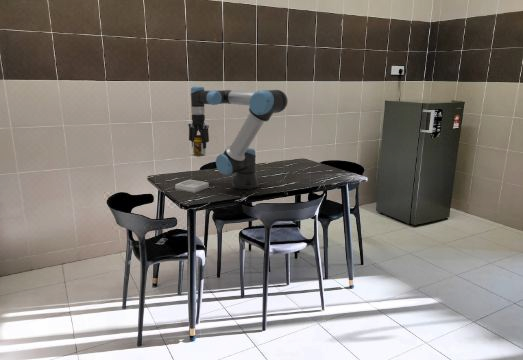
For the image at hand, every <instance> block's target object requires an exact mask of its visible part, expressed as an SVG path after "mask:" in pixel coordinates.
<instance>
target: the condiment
mask: <svg viewBox="0 0 523 360" xmlns="http://www.w3.org/2000/svg"><path fill="white" fill-rule="evenodd" d="M201 143H202V139H201V135H200V134H197V135H195V136H194V153H192V154H190V156H192V157H196V158H199V157H200V158H201V157H205V156H206V157H207V154H202V150H201Z"/></svg>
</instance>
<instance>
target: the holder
mask: <svg viewBox="0 0 523 360" xmlns="http://www.w3.org/2000/svg"><path fill="white" fill-rule="evenodd" d="M209 184H210V183H209V182H207V181H200V180H195V179H194V180H193V179H188V180H187V179H186V180H184V181H181V182H179V183H175V185H174V186H175V188H174V189H175V191H176V190H177V191H182V192H188V193H192V194H196V193H199V192H200V191H204V190H206V189H208V188H210V186H209Z"/></svg>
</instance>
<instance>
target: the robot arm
mask: <svg viewBox="0 0 523 360" xmlns="http://www.w3.org/2000/svg"><path fill="white" fill-rule="evenodd" d="M288 101H289V100H288V97H287V94H286V93H285V92H283V90H279V89H268V90H267V89H261V90H257V91H243V90H242V91H241V90H232V89H226V90H224V89H223V90H205V87H204V86H191V87H190V102H191V108H190V109H191V121H192V122H191V123H188V125H187V126H188V140H189V141H190V142H191V148H192V154H194V136H195V135H198V132H199V135H201V139H202V143H201V150H202V154H204V155H207V154H206V149H207V143H208V142H210V136H209V135H210V134H209V127H210V126H209V125H208V124H206V123H205V120H206V114H205V105H210V106H211V105H212V106H218V105H222V104H227V105H239V106H241V105H242V106H248V107H249V108H248V111H249V114H248V115H247V117H246V119H245V121H244V122H243V124H242V126H241V128H240V130H239V131H238V133H237V135H236V137H235V138H234V140H233V141H232V143H231V145H229V146H227V147H226V148H225V150H224V152H223V153H219V154H218V155H217V156H216V158H215V165H216V168H217V171H219V173H221V174H222V175H226V176H228V175H231V174H234V173H235V175H234V178H233V181H232V188H233V189H236V188H237V190H243V189H248V190H254V189H253V188H255V189H257V188H258V187H259V181H258V177H257V174H256V157H257V155H256V150H255V149H254V148H250V147H251V146H250V145H251V144H252V142H253V141H254V140H255V137H256V136H257V135H258V133H259V131H260V129H261V128H262V126H263V125H264V123H265V122H269V120H270V119H271V117H272V116H273V114H277V113H280V112H283V111H284V110H285V109H286V108H287V106H288ZM256 187H257V188H256Z"/></svg>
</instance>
